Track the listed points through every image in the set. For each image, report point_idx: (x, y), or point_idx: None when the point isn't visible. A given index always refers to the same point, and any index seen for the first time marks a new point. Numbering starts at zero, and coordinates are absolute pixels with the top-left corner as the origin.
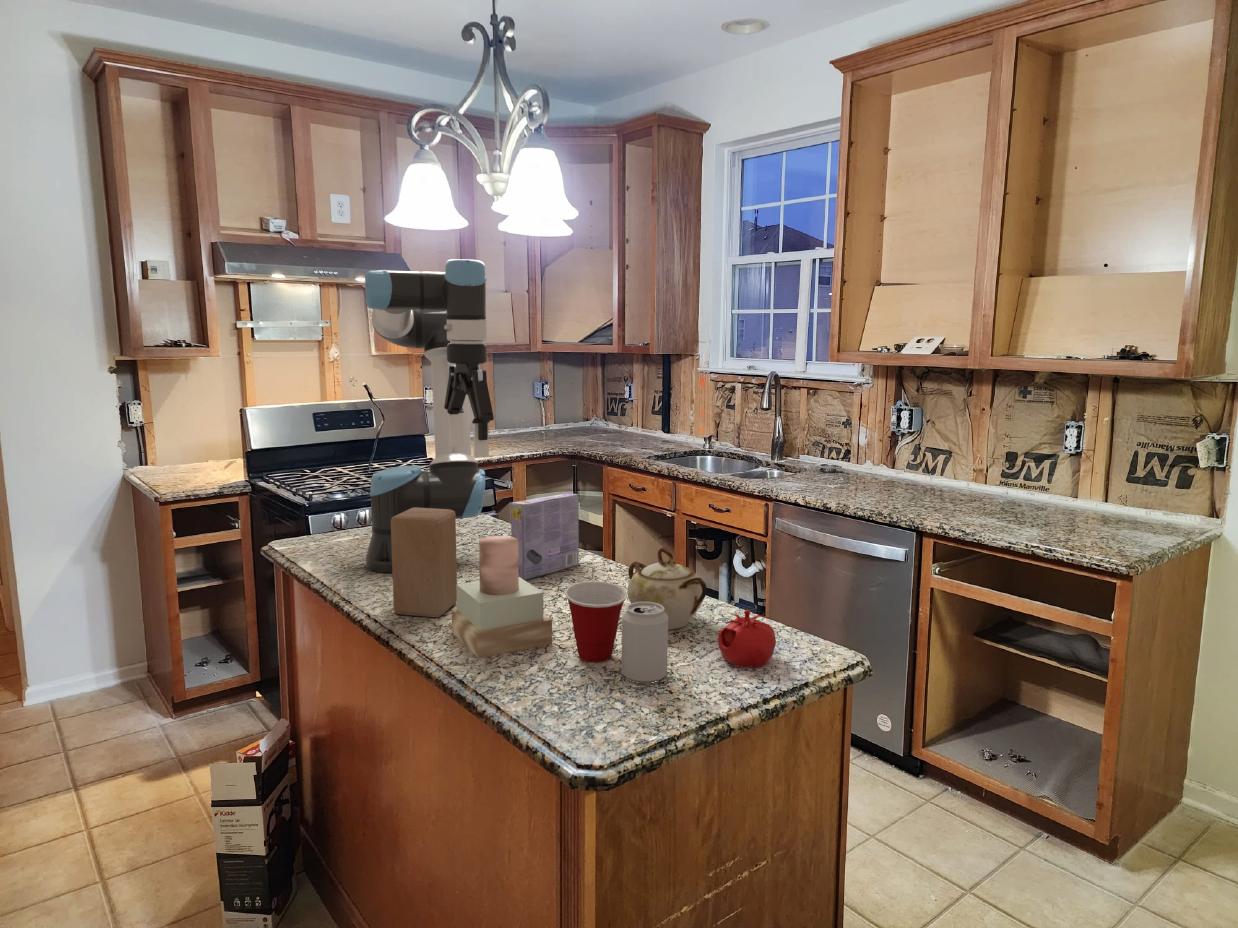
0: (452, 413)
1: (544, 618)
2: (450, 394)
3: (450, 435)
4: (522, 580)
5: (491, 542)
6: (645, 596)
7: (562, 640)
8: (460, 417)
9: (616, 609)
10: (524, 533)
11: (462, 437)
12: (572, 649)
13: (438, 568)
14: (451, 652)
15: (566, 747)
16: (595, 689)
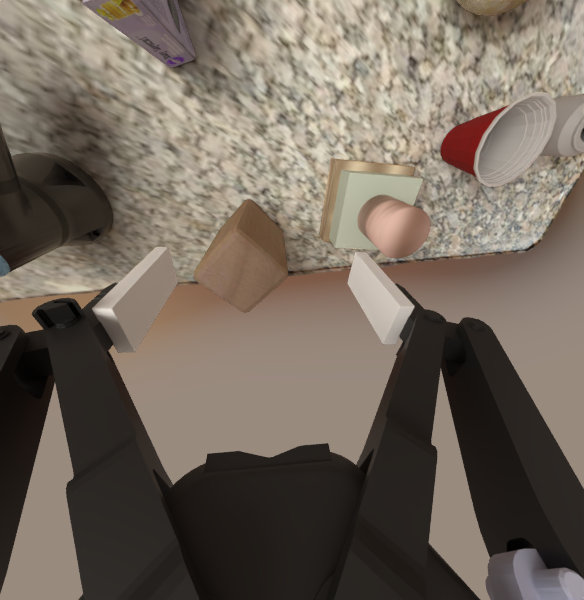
0: (111, 344)
1: (406, 173)
2: (28, 439)
3: (166, 300)
4: (372, 177)
5: (402, 245)
6: (520, 3)
7: (405, 150)
8: (125, 308)
9: (535, 134)
10: (162, 18)
11: (158, 260)
12: (427, 155)
13: (284, 248)
14: (355, 249)
15: (510, 246)
16: (491, 187)
